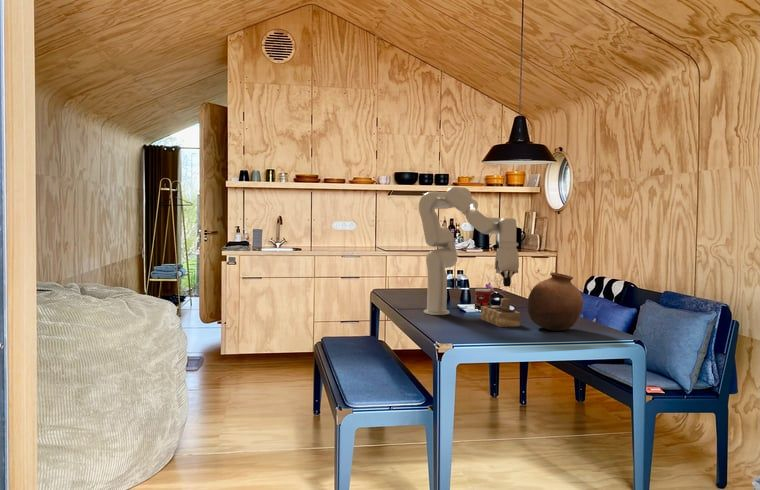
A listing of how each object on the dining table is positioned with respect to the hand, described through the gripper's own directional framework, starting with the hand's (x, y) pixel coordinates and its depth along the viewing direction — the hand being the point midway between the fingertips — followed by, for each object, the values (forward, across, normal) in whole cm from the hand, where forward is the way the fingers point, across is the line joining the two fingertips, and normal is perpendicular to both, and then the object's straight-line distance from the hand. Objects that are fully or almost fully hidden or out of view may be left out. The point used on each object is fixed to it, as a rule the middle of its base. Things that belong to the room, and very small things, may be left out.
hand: (506, 286), depth 276 cm
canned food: (+17, -6, -35) cm, 40 cm away
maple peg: (+17, 0, -10) cm, 20 cm away
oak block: (+17, 0, -6) cm, 18 cm away
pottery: (+18, -16, +15) cm, 28 cm away
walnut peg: (+12, 0, -1) cm, 13 cm away
